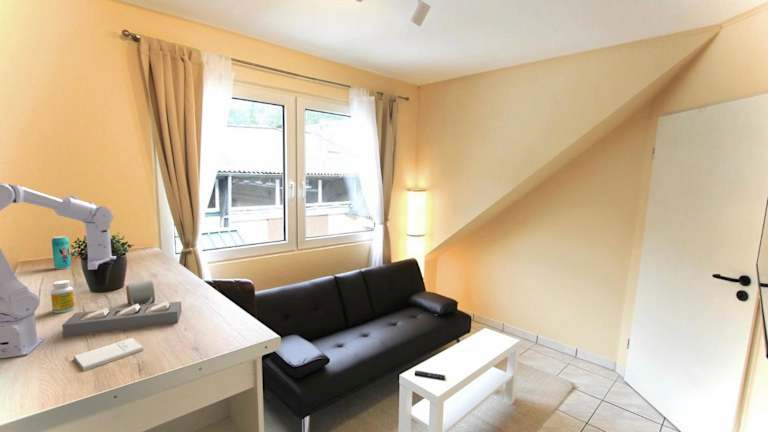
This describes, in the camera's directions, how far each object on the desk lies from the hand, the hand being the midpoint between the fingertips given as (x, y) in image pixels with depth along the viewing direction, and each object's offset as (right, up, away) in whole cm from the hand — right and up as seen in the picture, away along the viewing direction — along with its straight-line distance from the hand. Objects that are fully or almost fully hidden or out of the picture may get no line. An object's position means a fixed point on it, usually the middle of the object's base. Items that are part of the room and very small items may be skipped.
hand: (102, 285), depth 110 cm
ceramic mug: (+4, -9, +13) cm, 16 cm away
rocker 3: (+18, -7, 0) cm, 19 cm away
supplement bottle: (-18, -10, +6) cm, 21 cm away
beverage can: (-61, -2, +52) cm, 80 cm away
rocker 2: (+10, -8, -3) cm, 13 cm away
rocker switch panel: (+10, -11, -3) cm, 15 cm away
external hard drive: (+19, -14, -21) cm, 31 cm away
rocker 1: (+3, -8, -6) cm, 10 cm away
